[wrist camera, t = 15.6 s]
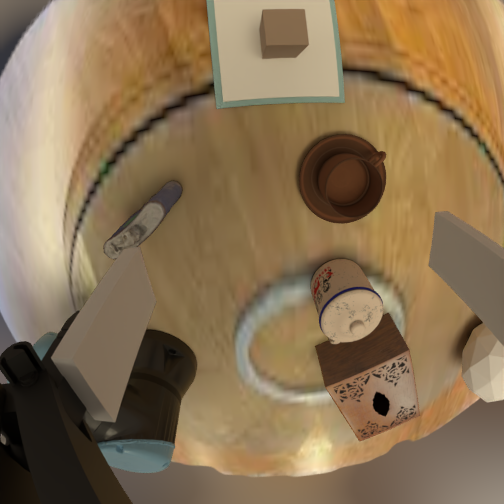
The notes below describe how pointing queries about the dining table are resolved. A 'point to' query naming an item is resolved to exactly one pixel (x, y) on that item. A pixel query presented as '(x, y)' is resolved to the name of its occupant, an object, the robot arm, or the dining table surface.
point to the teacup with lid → (345, 301)
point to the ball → (484, 364)
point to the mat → (269, 100)
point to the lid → (276, 49)
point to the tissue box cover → (371, 380)
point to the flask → (143, 221)
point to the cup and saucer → (342, 178)
